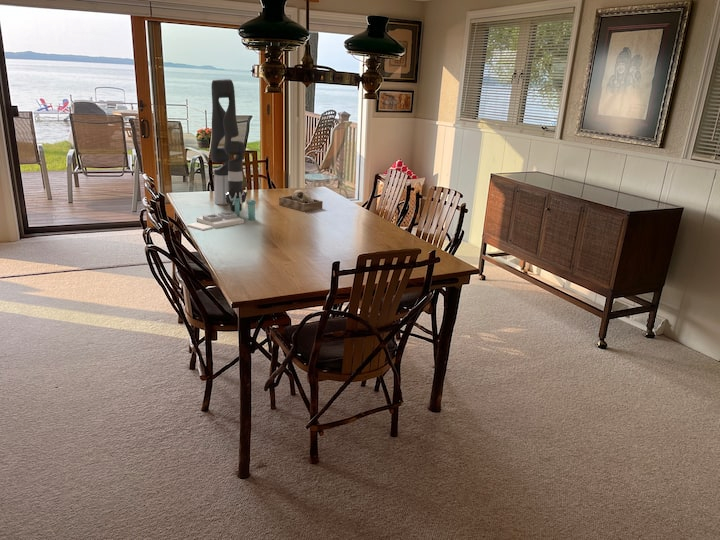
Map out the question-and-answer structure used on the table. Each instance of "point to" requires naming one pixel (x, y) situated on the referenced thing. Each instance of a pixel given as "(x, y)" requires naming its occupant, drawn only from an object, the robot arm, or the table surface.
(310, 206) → the brown wooden tray
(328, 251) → the table surface
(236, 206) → the teal flared handle
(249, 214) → the teal round-knobbed peg
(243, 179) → the pyramid
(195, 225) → the lid
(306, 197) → the animal skull replica
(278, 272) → the table surface
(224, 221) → the housing
